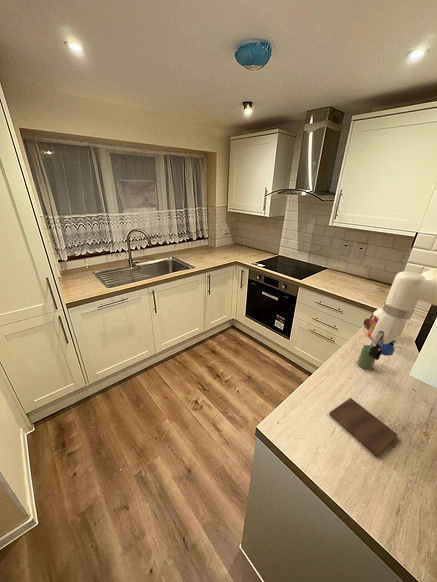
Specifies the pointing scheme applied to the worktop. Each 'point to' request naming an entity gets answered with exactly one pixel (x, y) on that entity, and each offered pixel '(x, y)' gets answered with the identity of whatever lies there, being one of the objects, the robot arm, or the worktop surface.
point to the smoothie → (374, 321)
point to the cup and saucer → (367, 322)
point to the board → (363, 426)
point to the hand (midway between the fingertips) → (379, 353)
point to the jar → (365, 358)
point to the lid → (386, 349)
